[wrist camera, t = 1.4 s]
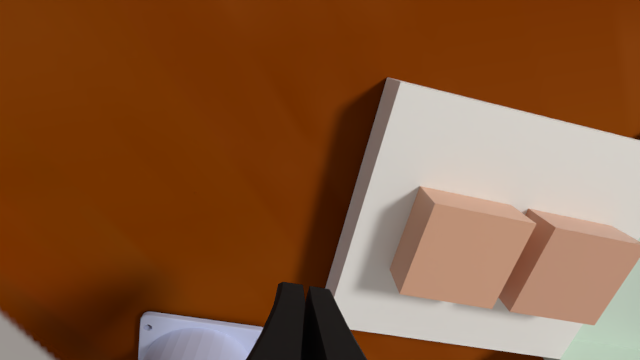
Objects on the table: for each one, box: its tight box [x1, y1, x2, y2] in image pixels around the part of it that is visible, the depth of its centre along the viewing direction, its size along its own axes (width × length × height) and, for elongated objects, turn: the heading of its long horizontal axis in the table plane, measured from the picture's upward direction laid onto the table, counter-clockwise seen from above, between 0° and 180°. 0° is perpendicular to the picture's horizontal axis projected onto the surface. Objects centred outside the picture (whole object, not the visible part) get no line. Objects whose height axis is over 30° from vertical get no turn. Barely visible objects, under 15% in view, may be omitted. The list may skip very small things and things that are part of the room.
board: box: [325, 77, 640, 359], centre depth 19 cm, size 14×16×2 cm
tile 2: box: [390, 186, 536, 309], centre depth 17 cm, size 5×5×2 cm
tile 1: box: [498, 208, 640, 325], centre depth 17 cm, size 5×5×2 cm
